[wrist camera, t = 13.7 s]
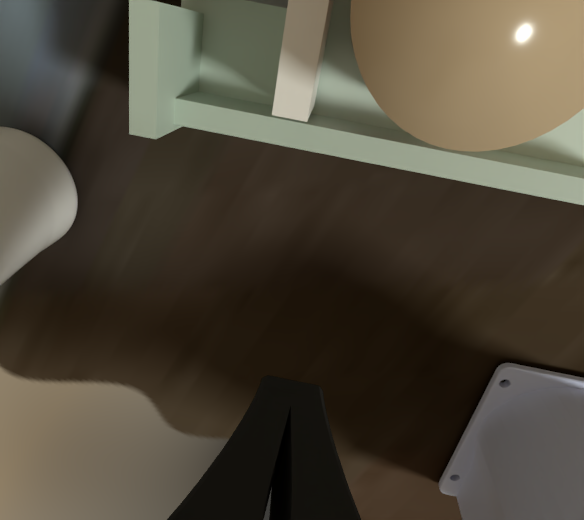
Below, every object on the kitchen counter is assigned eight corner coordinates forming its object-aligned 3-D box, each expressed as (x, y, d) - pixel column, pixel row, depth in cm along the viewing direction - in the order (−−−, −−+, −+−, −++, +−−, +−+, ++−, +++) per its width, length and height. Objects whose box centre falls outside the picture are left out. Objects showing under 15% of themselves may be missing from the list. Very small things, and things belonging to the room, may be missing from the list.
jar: (465, 129, 15) (544, 186, 9) (323, 76, 15) (311, 99, 9) (555, -45, 13) (745, -121, 7) (388, -114, 12) (431, -258, 6)
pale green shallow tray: (582, 190, 17) (670, 241, 12) (184, 111, 17) (129, 134, 12) (727, -98, 13) (936, -177, 8) (201, -196, 13) (128, -325, 8)
